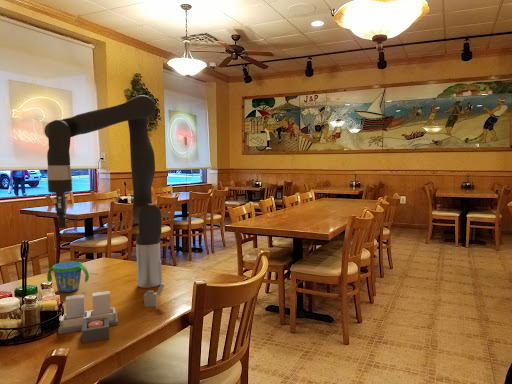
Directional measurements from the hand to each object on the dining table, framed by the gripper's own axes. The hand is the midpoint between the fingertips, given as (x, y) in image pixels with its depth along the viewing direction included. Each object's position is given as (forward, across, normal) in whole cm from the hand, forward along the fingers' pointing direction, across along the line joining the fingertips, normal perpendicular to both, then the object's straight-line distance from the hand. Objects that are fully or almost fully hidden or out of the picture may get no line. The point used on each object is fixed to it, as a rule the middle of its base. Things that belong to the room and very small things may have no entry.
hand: (62, 227), depth 135 cm
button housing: (+27, -33, -10) cm, 44 cm away
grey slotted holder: (+27, -23, -8) cm, 36 cm away
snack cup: (+27, +14, 0) cm, 31 cm away
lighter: (+27, -16, -29) cm, 43 cm away
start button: (+26, -33, -10) cm, 43 cm away
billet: (+26, -23, -4) cm, 35 cm away
